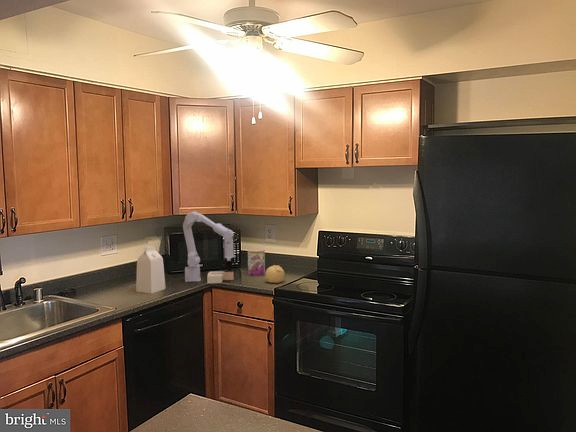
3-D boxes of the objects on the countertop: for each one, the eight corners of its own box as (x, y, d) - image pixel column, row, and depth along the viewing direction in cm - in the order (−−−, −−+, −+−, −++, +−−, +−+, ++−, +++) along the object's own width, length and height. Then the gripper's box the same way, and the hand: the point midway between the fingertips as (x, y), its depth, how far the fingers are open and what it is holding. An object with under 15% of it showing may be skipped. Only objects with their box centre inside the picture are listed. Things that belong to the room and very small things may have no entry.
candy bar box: (247, 275, 313) (247, 251, 311) (248, 273, 318) (248, 249, 316) (264, 275, 312) (263, 251, 310) (265, 273, 317) (264, 249, 315)
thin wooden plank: (211, 280, 297) (211, 272, 296) (211, 280, 297) (211, 272, 297) (233, 279, 298) (233, 272, 297) (233, 279, 299) (233, 271, 298)
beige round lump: (285, 283, 287) (285, 266, 286) (266, 284, 285) (265, 267, 284) (283, 279, 298) (283, 263, 297) (264, 280, 297) (264, 263, 296)
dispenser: (207, 283, 290) (207, 276, 290) (209, 278, 304) (208, 271, 303) (223, 283, 291) (222, 275, 290) (223, 278, 305) (223, 271, 304)
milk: (150, 286, 283) (148, 244, 281) (165, 288, 278) (164, 245, 276) (136, 291, 272) (134, 247, 270) (151, 293, 267) (149, 248, 265)
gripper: (235, 250, 289) (235, 272, 291) (235, 247, 304) (236, 267, 305) (223, 251, 289) (224, 272, 290) (224, 247, 303) (225, 267, 304)
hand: (229, 270), depth 298 cm, fingers open, 7 cm apart
